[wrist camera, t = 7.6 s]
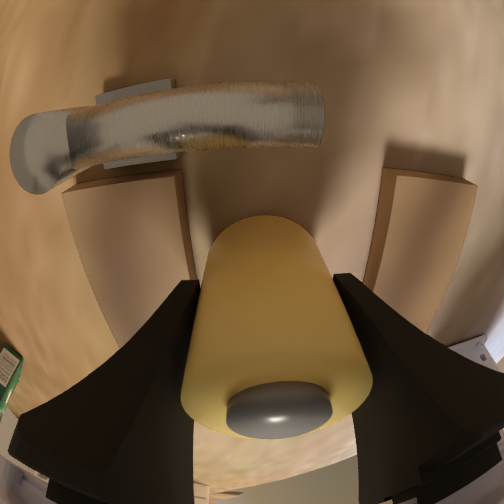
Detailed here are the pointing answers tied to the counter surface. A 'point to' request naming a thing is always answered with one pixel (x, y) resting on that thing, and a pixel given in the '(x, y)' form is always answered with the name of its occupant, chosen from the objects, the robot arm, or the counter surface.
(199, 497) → the honey pot
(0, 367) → the coffee box
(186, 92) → the hook arm
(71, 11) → the counter surface
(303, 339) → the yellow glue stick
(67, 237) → the counter surface
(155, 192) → the brown u-shaped board
